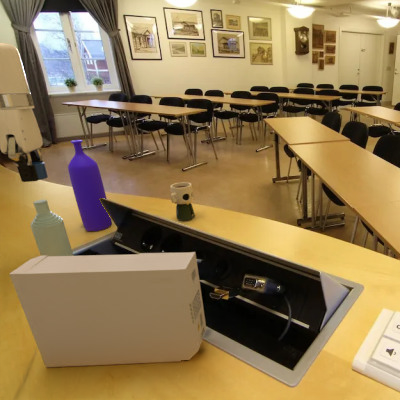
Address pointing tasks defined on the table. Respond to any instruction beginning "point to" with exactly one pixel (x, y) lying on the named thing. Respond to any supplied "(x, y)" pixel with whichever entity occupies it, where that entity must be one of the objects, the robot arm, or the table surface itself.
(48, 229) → the water bottle
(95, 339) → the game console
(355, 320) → the table surface
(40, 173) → the cap
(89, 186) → the bottle
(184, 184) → the character mug
